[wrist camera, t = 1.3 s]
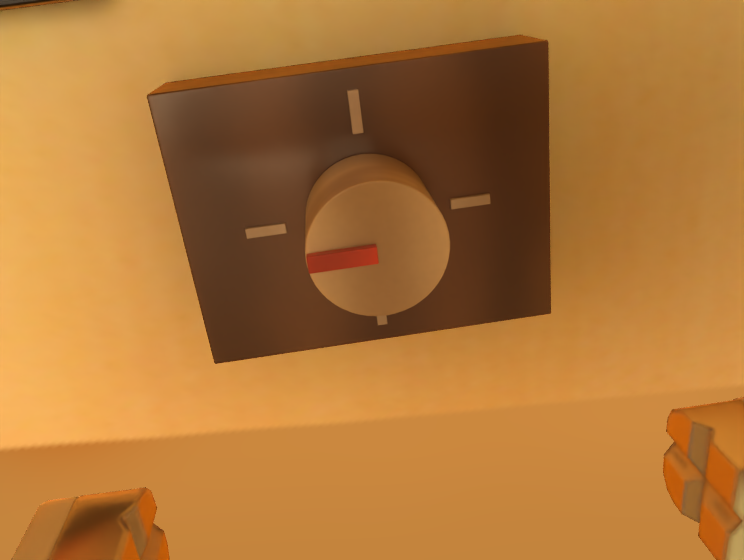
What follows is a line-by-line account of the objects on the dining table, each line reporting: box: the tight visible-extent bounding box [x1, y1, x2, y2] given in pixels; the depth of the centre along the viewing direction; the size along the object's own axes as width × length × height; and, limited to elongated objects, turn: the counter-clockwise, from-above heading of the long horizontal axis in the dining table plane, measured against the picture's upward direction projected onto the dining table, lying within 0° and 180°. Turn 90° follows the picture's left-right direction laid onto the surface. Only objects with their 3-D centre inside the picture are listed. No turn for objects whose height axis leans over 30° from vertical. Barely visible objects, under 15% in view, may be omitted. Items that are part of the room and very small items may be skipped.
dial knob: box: [305, 154, 450, 316], centre depth 21 cm, size 4×4×4 cm
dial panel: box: [147, 35, 551, 364], centre depth 24 cm, size 13×10×3 cm
